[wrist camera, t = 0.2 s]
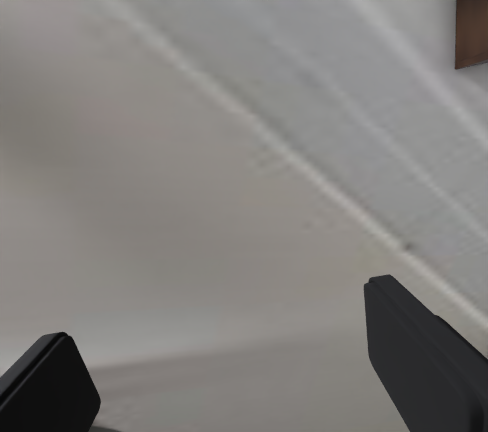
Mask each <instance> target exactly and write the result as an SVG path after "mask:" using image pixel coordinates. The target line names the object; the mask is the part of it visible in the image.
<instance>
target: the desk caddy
mask: <svg viewBox="0 0 488 432" xmlns="http://www.w3.org/2000/svg"><path fill="white" fill-rule="evenodd" d="M455 62H456V63H455V69H460V68H465V67H469V66H474V65H479V64H483V63H488V0H457V17H456V57H455Z"/></svg>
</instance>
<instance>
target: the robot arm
mask: <svg viewBox="0 0 488 432" xmlns="http://www.w3.org/2000/svg"><path fill="white" fill-rule="evenodd" d="M364 298H365V312H366V326H367V340H368V353H369V358H370V361H371V364H372V366H373V368H374V370H375V371H376V373H377V375H378V376H379V378H380V380H381V382H382V383H383V385H384V387H385V389H386V390H387V392H388V394H389V396H390V397H391V399H392V401H393V403H394V404H395V406H396V408H397V410H398V411H399V413H400V415H401V416H402V418H403V420H404V422H405V423H406V425H407V427H408V429H409V430H410V432H488V359H487V358H486V357H484V356H483V355H482V354H481V353H480V352H479V351H478V350H477V349H476V348H474V347H473V346H472V345H471V344H470V343H469V342H468V341H467V340H466V339H465V338H463V337H462V336H461V335H460V334H459V333H458V332H457V331H456V330H455V329H453V328H452V327H451V326H450V325H449V324H448V323H447V322H446V321H445V320H443V319H442V318H441V317H439V316H437V315H434V314H433V313H432V312H431V311H430V310H429V309H427V308H426V307H425V306H424V305H423V304H422V303H421V302H420V301H419V300H418V299H417V298H416V297H414V296H413V295H412V294H411V293H410V292H409V291H408V290H407V289H406V288H405V287H404V286H403V285H401V284H400V283H399V282H398V281H397V280H396V279H395V278H394V277H393V276H391V275H383V276H377V277H372V278H370V279H369V283H366V284H364ZM100 403H101V401H100V396H99V394H98V392H97V390H96V388H95V385H94V383H93V381H92V379H91V377H90V375H89V372H88V370H87V368H86V366H85V364H84V362H83V359H82V357H81V355H80V353H79V351H78V349H77V346H76V344H75V342H74V340H73V338H72V337H71V336H68V334H67V333H65V332H59V333H53V334H47V335H44V336H42V337H40V338H39V339H38V340H37V341H36V342H35V343H34V344H33V345H32V346H31V347H30V348H29V349H28V350H27V351H26V352H25V353H24V354H23V355H22V356H21V357H20V358H19V359H18V360H17V361H16V362H15V363H14V364H13V365H12V366H11V367H10V368H9V369H8V370H7V371H6V372H5V373H4V375H3V376H2V377H1V378H0V432H88V431H89V429H90V427H91V425H92V423H93V421H94V419H95V417H96V415H97V413H98V411H99V409H100Z"/></svg>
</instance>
